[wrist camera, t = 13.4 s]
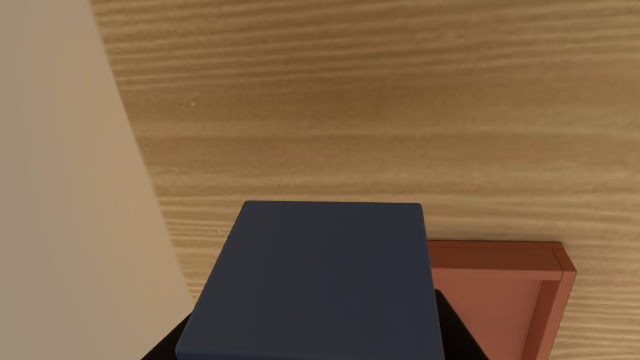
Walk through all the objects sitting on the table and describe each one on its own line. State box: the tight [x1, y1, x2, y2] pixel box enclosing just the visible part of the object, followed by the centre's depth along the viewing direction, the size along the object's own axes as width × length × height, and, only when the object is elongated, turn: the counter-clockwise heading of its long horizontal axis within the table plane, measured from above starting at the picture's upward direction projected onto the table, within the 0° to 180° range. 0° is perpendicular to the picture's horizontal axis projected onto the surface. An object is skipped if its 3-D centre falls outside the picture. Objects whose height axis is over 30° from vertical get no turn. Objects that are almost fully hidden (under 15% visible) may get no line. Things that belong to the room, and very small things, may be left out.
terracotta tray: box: [427, 241, 577, 360], centre depth 24 cm, size 13×13×2 cm
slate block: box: [175, 201, 445, 360], centre depth 9 cm, size 4×4×4 cm
